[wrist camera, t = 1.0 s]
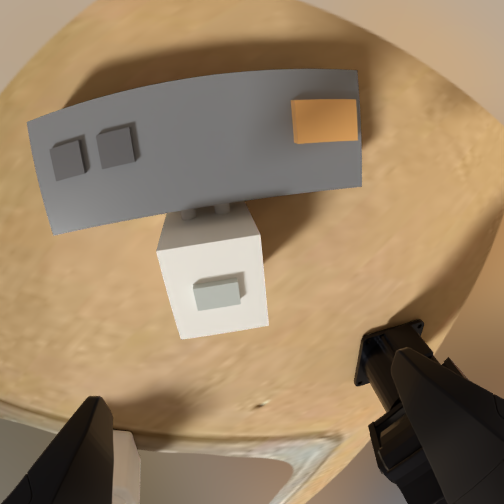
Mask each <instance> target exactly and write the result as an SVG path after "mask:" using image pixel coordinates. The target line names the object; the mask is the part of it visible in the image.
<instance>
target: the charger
mask: <svg viewBox="0 0 504 504" xmlns="http://www.w3.org/2000/svg"><path fill="white" fill-rule="evenodd" d="M156 252H157V256H158V260H159V264H160V268H161V272H162V275H163V279H164V283H165V286H166V290H167V294H168V297H169V301H170V304H171V308H172V311H173V315H174V318H175V321H176V325H177V328H178V331H179V334H180V338H181V339H189V338H196V337H203V336H209V335H216V334H222V333H228V332H234V331H240V330H246V329H252V328H258V327H263V326H269V322H268V311H267V300H266V289H265V278H264V267H263V256H262V246H261V235H260V233H259V231H258V228H257V226H256V224H255V222H254V220H253V218H252V216H251V214H250V212H249V210H248V208H247V205H246V203H245V201H239V202H232V203H226V204H219V205H213V206H206V207H200V208H194V209H188V210H182V211H176V212H170V213H167V214H166V218H165V221H164V225H163V228H162V232H161V236H160V239H159V243H158V247H157V251H156Z"/></svg>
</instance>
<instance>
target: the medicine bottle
mask: <svg viewBox="0 0 504 504" xmlns="http://www.w3.org/2000/svg"><path fill="white" fill-rule="evenodd" d="M113 447H114V470H113V490H112V504H140V470H141V459H140V456H139V454H138V451H137V448H136V445H135V442H134V438H133V435H132V433H131V432H129V431H120V430H113Z"/></svg>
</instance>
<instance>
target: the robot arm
mask: <svg viewBox="0 0 504 504" xmlns="http://www.w3.org/2000/svg"><path fill="white" fill-rule="evenodd" d="M423 326H424V322H423V321H422V320H421V319H419V320H416V321H412V322H409V323H406V324H403V325H400V326H396V327H393V328H390V329H386V330H383V331H379V332H376V333H372V334H369V335H366V336H364V337H363V338H362V340H361V344H360V350H359V356H358V362H357V367H356V373H355V378H354V384H355V386H361V385H365V384H368V383H370V384H371V386H372V387H373V389H374V391H375V393H376V394H377V396H378V398H379V400H380V402H381V403H382V405H383V407H384V409H385V411H386V412H387V413H386V414H384V415H383V416H382V417H380V418H379V419H378V420H376V421H375V422H372V423H371V424H369V425H368V427H369V431H370V437H371V441H372V445H373V448H374V452H375V457H376V461H377V464H378V468H379V469H380V471H381V473H382V474H384V475H385V476H386V477H387V478H388V479H389V480H390V481H391V482H393V483H395V484H397V486H398V487H399V489H400V490H401V492H402V494H403V495H404V498H405V499H406V501H407V503H408V504H504V399H502V398H500V397H499V396H497V395H493V393H491V392H489V391H487V390H486V389H484V388H482V387H480V386H478V385H476V384H474V383H473V382H471V381H469V380H468V378H466V376H465V375H464V374H463V372H462V371H461V370H460V369H459V368H458V367H457V366H456V365H455V364H454V363H453V361H452V360H451V359H450V358H449V357H448V358H447V359H446V360H445V361H444V363H443V364H442V365H441V364H440V363H439V362H438V361H437V360H436V358H435V357H434V356H433V351H432V350H431V349H430V348H429V346H428V345H427V344H426V343H425V341H424V340H423V339H422V338H421V333H422V330H423ZM113 470H114V447H113V416H112V413H111V411H110V409H109V408H108V406H107V404H106V403H105V401H104V400H103V398H102V397H100V396H89V397H88V398H86V400H85V401H84V402H83V403H82V405H81V406H80V407H79V408H78V409H77V411H76V412H75V413H74V414H73V416H72V417H71V418H70V419H69V420H68V422H67V423H66V424H65V425H64V427H63V428H62V429H61V430H60V432H59V433H58V434H57V435H56V437H55V438H54V439H53V440H52V442H51V443H50V444H49V446H48V447H47V448H46V449H45V450H44V452H43V453H42V454H41V455H40V457H39V458H38V459H37V461H36V462H35V463H34V464H33V466H32V467H31V468H30V470H29V471H28V472H27V473H28V474H26V475H25V476H24V477H23V479H22V480H21V481H20V482H19V484H18V485H17V486H16V488H15V489H14V490H13V491H12V492H11V493H10V494H9V496H8V497H7V498H6V499H5V500H4V501H3V502H2V503H1V504H112V490H113Z"/></svg>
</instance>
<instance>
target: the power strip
mask: <svg viewBox="0 0 504 504" xmlns="http://www.w3.org/2000/svg"><path fill="white" fill-rule="evenodd" d="M27 126H28V133H29V139H30V144H31V150H32V155H33V160H34V164H35V169H36V173H37V178H38V182H39V186H40V190H41V194H42V198H43V202H44V205H45V209H46V213H47V216H48V219H49V223H50V226H51V229H52V233H53V236H54V235H58V234H63V233H67V232H72V231H77V230H81V229H86V228H91V227H96V226H101V225H106V224H111V223H116V222H121V221H126V220H131V219H137V218H142V217H147V216H153V215H159V214H164V213H170V212H176V211H182V210H188V209H194V208H200V207H206V206H213V205H219V204H226V203H232V202H239V201H246V200H253V199H260V198H268V197H275V196H283V195H291V194H299V193H307V192H316V191H325V190H334V189H343V188H353V187H362V150H361V119H360V101H359V86H358V74H357V70H341V69H279V70H260V71H246V72H235V73H225V74H216V75H208V76H201V77H194V78H187V79H181V80H175V81H169V82H164V83H159V84H154V85H149V86H144V87H139V88H135V89H131V90H127V91H122V92H118V93H114V94H111V95H107V96H103V97H100V98H96V99H93V100H89V101H86V102H83V103H79V104H76V105H73V106H70V107H67V108H64V109H61V110H58V111H55V112H52V113H50V114H47V115H44V116H41V117H39V118H36V119H34V120H31V121H28V122H27Z"/></svg>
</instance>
